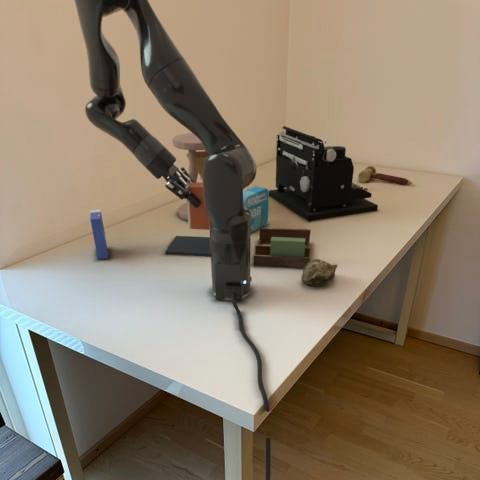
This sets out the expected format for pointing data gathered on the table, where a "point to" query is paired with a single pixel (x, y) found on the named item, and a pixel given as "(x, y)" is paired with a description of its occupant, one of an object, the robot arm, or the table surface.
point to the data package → (257, 206)
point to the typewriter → (316, 179)
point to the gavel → (380, 176)
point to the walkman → (99, 234)
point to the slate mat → (190, 246)
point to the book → (197, 209)
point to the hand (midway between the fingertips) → (200, 202)
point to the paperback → (287, 246)
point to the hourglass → (191, 160)
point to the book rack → (266, 260)
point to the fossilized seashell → (318, 272)
